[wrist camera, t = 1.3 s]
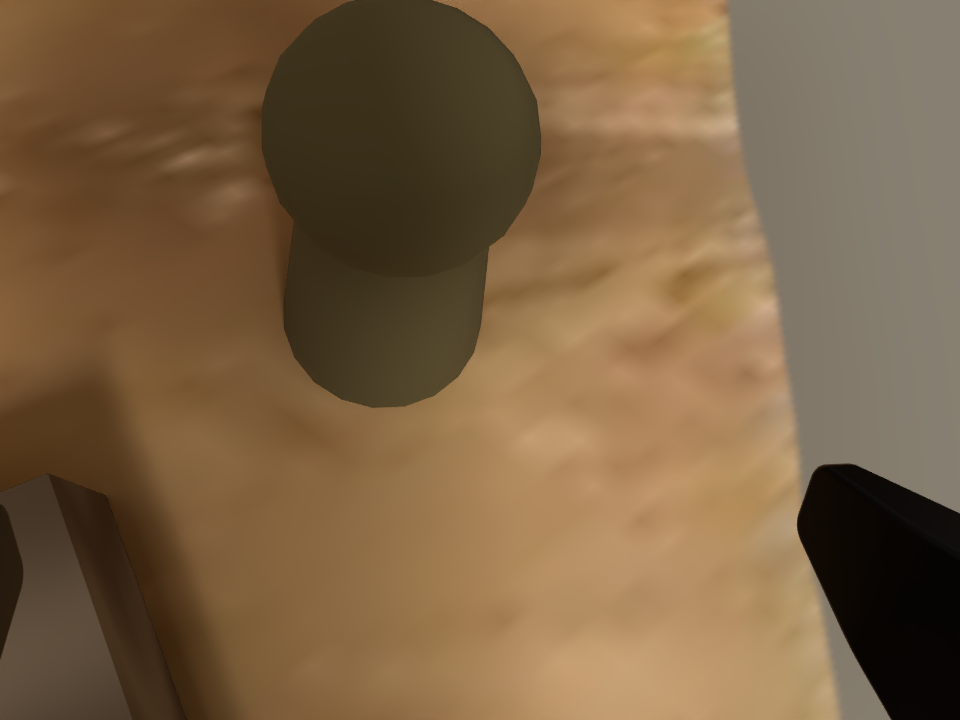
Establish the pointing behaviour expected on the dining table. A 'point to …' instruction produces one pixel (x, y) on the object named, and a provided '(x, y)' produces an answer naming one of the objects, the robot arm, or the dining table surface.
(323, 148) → the cork
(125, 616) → the walnut plinth
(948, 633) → the robot arm
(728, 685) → the dining table surface
